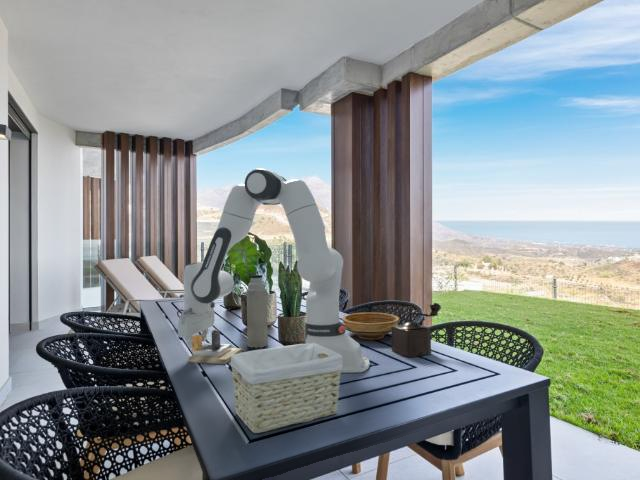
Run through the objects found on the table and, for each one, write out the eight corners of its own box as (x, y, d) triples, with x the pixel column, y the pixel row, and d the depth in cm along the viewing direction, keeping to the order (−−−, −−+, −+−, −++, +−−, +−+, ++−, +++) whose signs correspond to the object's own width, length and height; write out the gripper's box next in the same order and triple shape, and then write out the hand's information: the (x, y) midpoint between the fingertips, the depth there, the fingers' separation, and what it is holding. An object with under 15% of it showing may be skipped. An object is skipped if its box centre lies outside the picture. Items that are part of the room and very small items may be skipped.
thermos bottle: (265, 341, 170) (263, 273, 170) (270, 346, 163) (268, 275, 163) (245, 343, 167) (244, 274, 167) (250, 348, 160) (248, 276, 160)
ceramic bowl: (326, 334, 181) (326, 316, 181) (367, 326, 196) (366, 309, 195) (375, 348, 157) (374, 327, 157) (416, 338, 172) (416, 318, 172)
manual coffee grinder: (410, 358, 143) (409, 307, 143) (390, 351, 153) (390, 302, 153) (444, 352, 150) (443, 303, 150) (423, 345, 160) (422, 299, 160)
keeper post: (242, 352, 155) (241, 325, 155) (225, 363, 141) (225, 334, 141) (207, 350, 158) (207, 324, 158) (188, 361, 144) (187, 333, 144)
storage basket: (314, 393, 113) (313, 340, 113) (346, 415, 99) (345, 354, 99) (229, 413, 102) (227, 353, 102) (251, 441, 88) (250, 371, 88)
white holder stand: (231, 349, 154) (231, 333, 153) (219, 357, 144) (218, 340, 144) (200, 348, 156) (200, 332, 156) (186, 355, 146) (186, 338, 146)
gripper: (189, 311, 140) (190, 352, 140) (217, 302, 160) (217, 337, 160) (172, 311, 141) (173, 351, 141) (202, 301, 161) (202, 337, 161)
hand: (197, 344), depth 151 cm, fingers open, 8 cm apart
